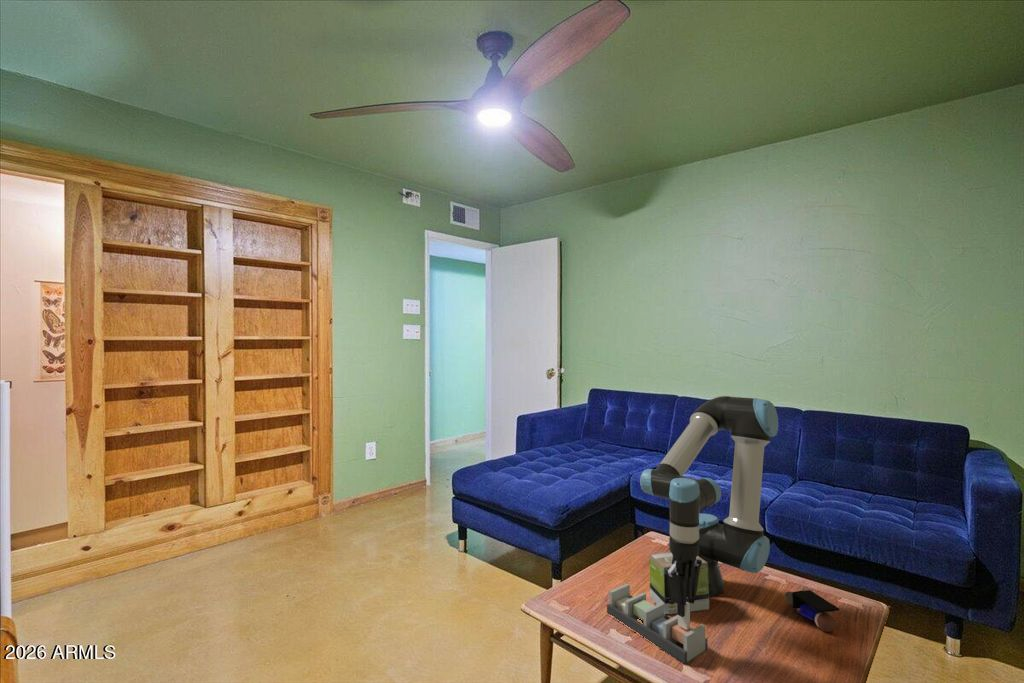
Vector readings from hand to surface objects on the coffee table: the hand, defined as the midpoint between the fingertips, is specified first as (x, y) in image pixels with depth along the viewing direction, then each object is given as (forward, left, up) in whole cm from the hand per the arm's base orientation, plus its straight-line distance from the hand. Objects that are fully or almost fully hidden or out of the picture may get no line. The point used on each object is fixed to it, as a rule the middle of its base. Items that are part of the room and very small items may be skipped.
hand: (683, 626), depth 126 cm
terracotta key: (0, 0, -3) cm, 3 cm away
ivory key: (0, -20, -5) cm, 20 cm away
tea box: (-18, -15, -7) cm, 24 cm away
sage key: (0, -13, -3) cm, 14 cm away
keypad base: (0, -10, -6) cm, 12 cm away
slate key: (0, -7, -5) cm, 8 cm away
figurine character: (-43, +13, -7) cm, 46 cm away
